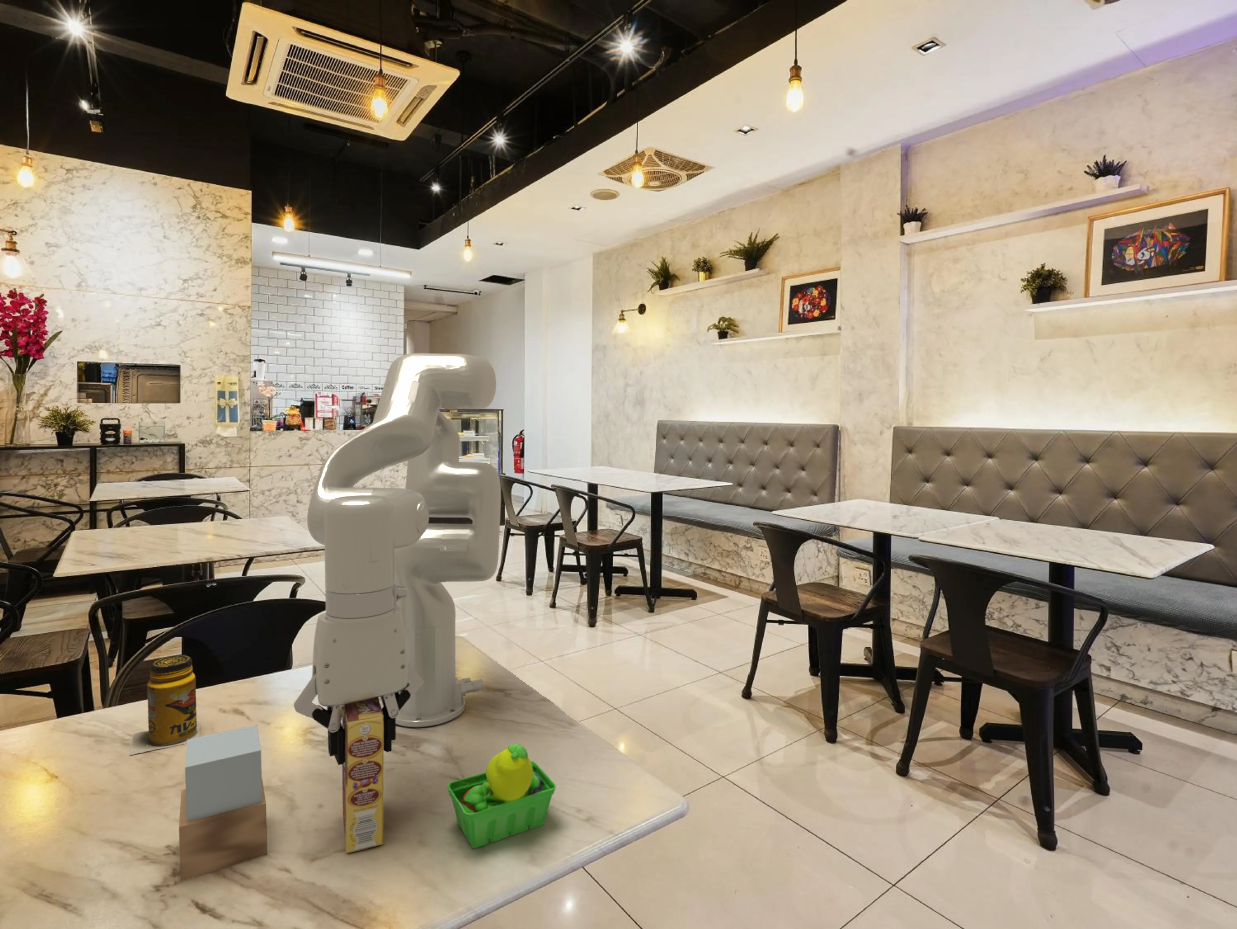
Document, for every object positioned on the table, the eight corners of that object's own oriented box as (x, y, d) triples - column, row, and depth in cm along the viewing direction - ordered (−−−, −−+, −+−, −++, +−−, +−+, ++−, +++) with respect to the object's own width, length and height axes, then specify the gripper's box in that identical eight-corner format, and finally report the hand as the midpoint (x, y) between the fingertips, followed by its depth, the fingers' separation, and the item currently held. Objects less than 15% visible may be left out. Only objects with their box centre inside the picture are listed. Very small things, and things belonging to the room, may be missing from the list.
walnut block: (261, 818, 78) (260, 770, 78) (267, 855, 72) (266, 803, 71) (182, 840, 74) (181, 790, 74) (180, 882, 67) (179, 827, 67)
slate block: (258, 773, 77) (257, 724, 77) (262, 802, 71) (261, 750, 71) (188, 790, 74) (187, 739, 73) (186, 822, 68) (185, 767, 67)
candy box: (387, 845, 73) (384, 715, 72) (346, 856, 71) (343, 723, 70) (379, 803, 81) (376, 686, 80) (342, 812, 79) (339, 692, 78)
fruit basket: (531, 795, 84) (531, 711, 83) (563, 832, 76) (563, 740, 75) (445, 824, 77) (444, 733, 77) (470, 867, 70) (470, 767, 69)
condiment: (199, 741, 97) (197, 663, 96) (129, 756, 92) (126, 675, 91) (199, 722, 103) (197, 648, 102) (133, 735, 98) (130, 659, 97)
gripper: (423, 585, 83) (424, 723, 84) (275, 604, 73) (278, 759, 74) (442, 598, 76) (443, 747, 77) (283, 621, 67) (287, 790, 68)
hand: (362, 751), depth 76 cm, fingers closed on candy box, 4 cm apart
